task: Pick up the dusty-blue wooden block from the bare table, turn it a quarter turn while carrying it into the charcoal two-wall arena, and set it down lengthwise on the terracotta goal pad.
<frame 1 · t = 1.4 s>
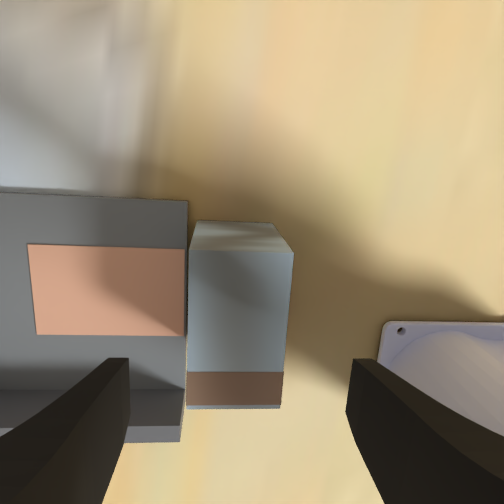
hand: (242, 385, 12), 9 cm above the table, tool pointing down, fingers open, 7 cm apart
blue block: (232, 283, 21), on the table
arena: (65, 305, 20), on the table
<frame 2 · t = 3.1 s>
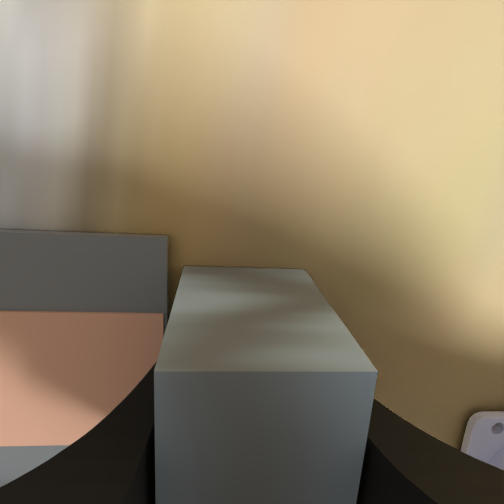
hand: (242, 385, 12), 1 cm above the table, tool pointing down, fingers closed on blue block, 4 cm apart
blue block: (240, 361, 13), on the table, touching gripper
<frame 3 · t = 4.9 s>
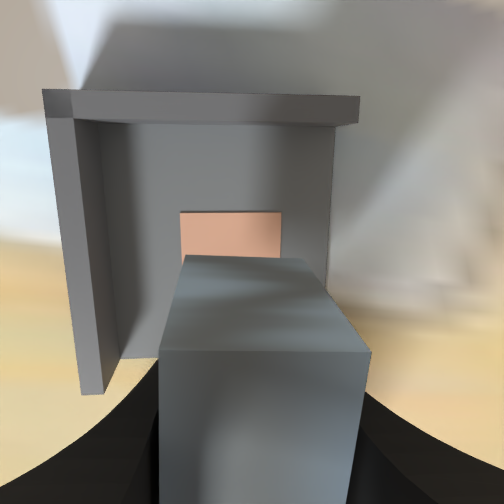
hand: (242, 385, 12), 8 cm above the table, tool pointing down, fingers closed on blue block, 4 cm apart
blue block: (239, 348, 14), point 7 cm above the table, touching gripper
arena: (211, 238, 19), on the table
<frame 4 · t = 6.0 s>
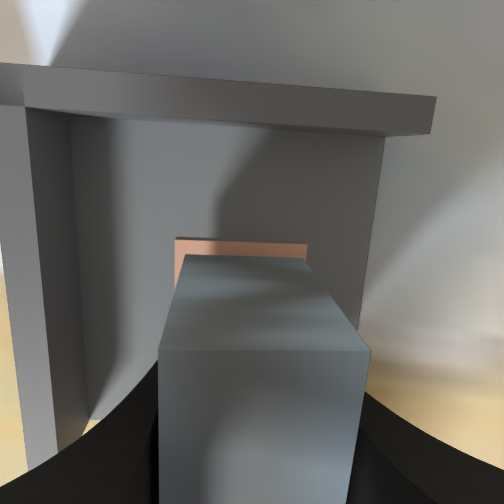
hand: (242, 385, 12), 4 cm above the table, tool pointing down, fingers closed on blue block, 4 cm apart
blue block: (239, 347, 14), point 2 cm above the table, touching gripper
arena: (214, 272, 15), on the table
when the fingers open (3 cm above the table, at t = 6.9 s): blue block drops 1 cm, resting on arena.
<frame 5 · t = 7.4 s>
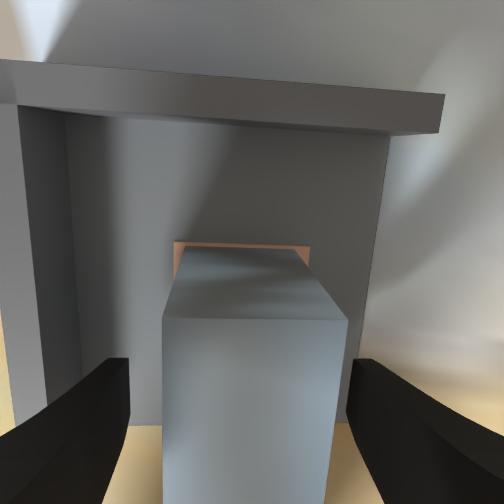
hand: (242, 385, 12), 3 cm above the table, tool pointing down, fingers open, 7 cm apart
blue block: (236, 334, 15), point 1 cm above the table, touching arena
arena: (214, 275, 14), on the table
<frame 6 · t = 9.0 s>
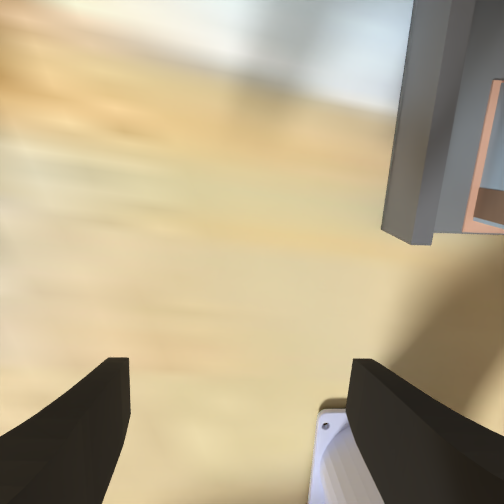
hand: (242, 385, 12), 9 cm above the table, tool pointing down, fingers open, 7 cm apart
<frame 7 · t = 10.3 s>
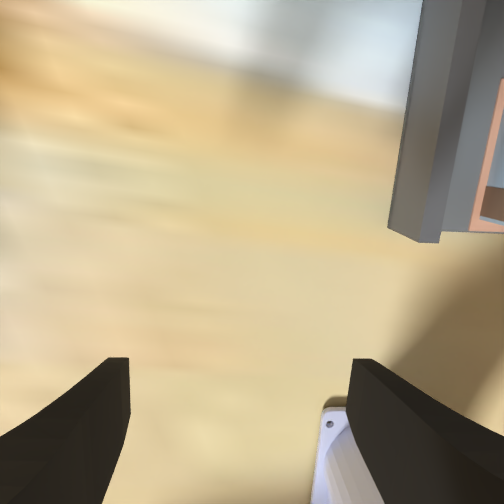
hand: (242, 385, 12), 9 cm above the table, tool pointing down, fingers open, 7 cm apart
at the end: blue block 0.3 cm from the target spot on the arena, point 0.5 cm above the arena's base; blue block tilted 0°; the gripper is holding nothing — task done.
